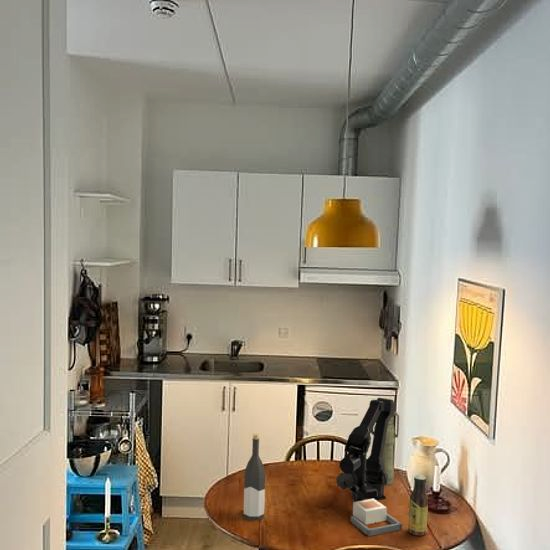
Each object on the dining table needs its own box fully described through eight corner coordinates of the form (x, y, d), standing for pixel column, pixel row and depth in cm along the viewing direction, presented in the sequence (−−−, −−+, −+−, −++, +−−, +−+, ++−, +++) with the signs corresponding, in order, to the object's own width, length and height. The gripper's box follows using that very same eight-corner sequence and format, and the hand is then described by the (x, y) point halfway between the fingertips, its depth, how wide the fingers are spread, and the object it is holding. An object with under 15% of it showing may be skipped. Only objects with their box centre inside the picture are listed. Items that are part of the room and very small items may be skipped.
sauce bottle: (405, 528, 205) (407, 472, 204) (422, 528, 205) (425, 472, 205) (411, 537, 198) (413, 480, 198) (429, 537, 199) (431, 480, 198)
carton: (373, 511, 218) (373, 498, 218) (386, 521, 211) (386, 507, 211) (352, 515, 215) (353, 501, 214) (365, 525, 207) (366, 511, 207)
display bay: (383, 515, 214) (383, 510, 214) (402, 529, 204) (402, 523, 204) (350, 521, 209) (350, 516, 208) (368, 536, 198) (368, 530, 198)
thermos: (369, 476, 253) (371, 397, 252) (396, 479, 250) (399, 399, 249) (367, 484, 244) (370, 401, 243) (396, 487, 242) (399, 404, 241)
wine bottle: (267, 513, 214) (270, 433, 213) (260, 522, 206) (262, 439, 205) (247, 509, 216) (249, 430, 215) (239, 518, 209) (241, 436, 208)
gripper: (327, 460, 222) (326, 500, 223) (352, 477, 205) (351, 520, 206) (352, 456, 227) (351, 496, 227) (379, 473, 210) (377, 516, 210)
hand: (356, 506), depth 218 cm, fingers closed
